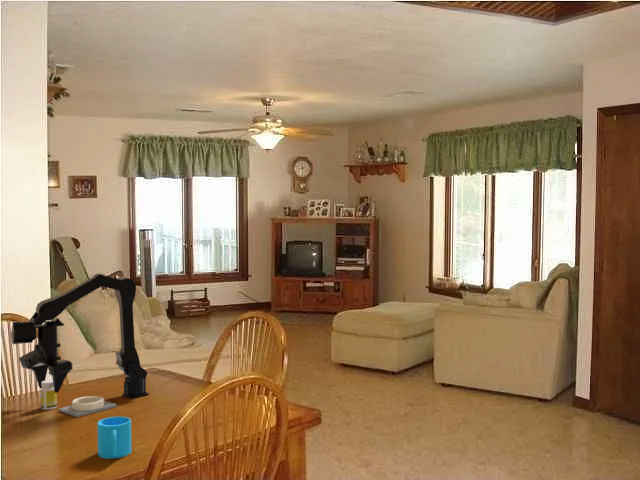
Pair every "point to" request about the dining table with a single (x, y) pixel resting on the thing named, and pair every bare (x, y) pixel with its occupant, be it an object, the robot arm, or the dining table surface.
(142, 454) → the dining table surface
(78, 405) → the holder board
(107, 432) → the mug
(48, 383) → the supplement bottle
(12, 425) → the dining table surface
